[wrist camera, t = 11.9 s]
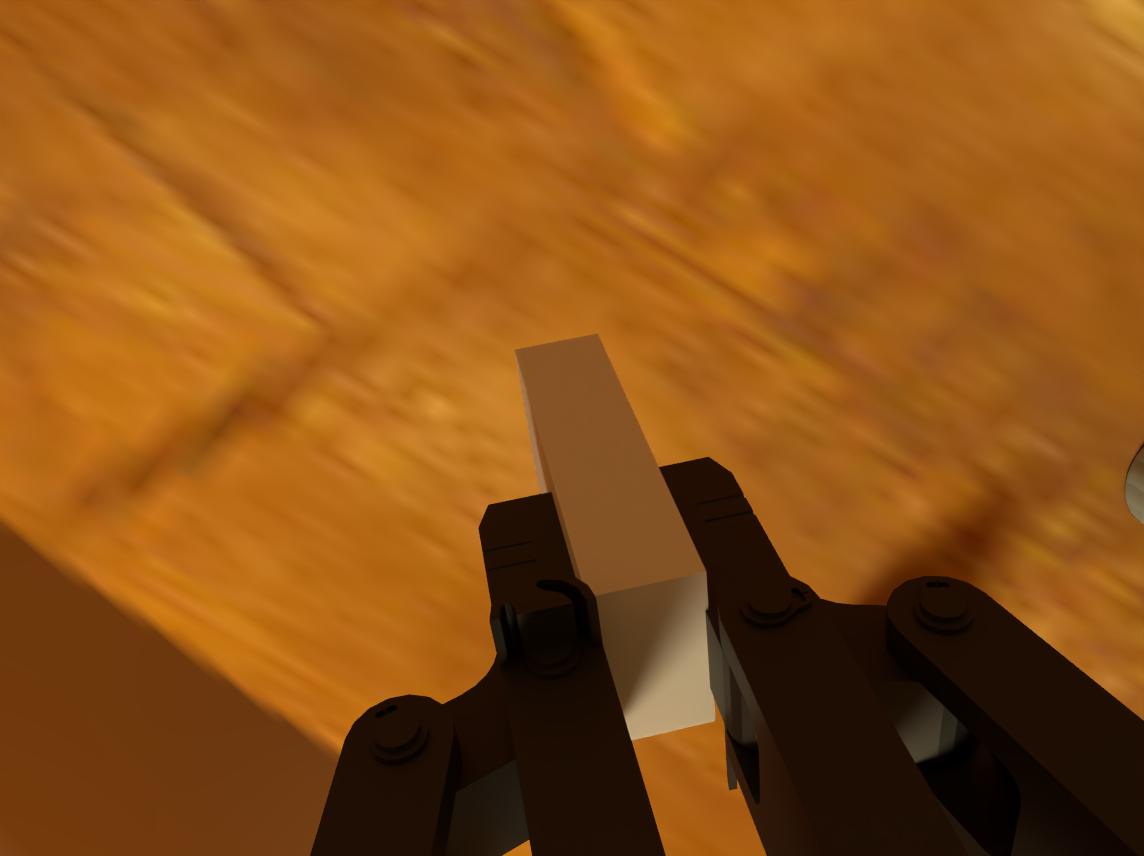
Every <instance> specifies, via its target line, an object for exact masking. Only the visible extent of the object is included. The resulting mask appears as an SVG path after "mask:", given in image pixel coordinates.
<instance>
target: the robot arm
mask: <svg viewBox="0 0 1144 856" xmlns="http://www.w3.org/2000/svg"><path fill="white" fill-rule="evenodd" d="M515 354H516V360H517V366H518V372H519V378H520V383H521V389H522V395H523V401H524V407H525V412H526V418H527V424H528V430H529V435H530V441H531V447H532V453H533V459H534V464H535V470H536V475H537V479H538V483H539V487H540V490H541V494H538V495H533V496H529V497H524V498H519V499H514V500H509V501H505V502H500V503H495V504H490V505H488V507H487V509H486V512H485V514H484V516H483V519H482V521H481V523H480V526H479V534H480V540H481V546H482V551H483V557H484V563H485V569H486V575H487V581H488V587H489V593H490V599H491V605H492V606H491V613H490V625H491V630H492V634H493V638H494V643H495V647H496V652H497V655H496V658H495V661H494V664H493V666H492V667H491V669H490V670H489V672H488V673H487V675H486V676H485V677H484V678H483V679H482V680H481V681H480V682H479V683H478V684H477V685H476V686H474V687H473V688H471V689H470V690H468V691H466V692H465V693H463V694H462V695H460V696H458V697H456V698H454V699H452V700H450V701H448V702H446V703H444V704H443V705H442V704H441V703H439V702H437V701H435V700H434V699H432V698H430V697H426V696H418V695H410V694H409V695H404V696H399V697H394V698H389V699H387V700H385V701H383V702H381V703H379V704H377V705H375V706H373V707H371V708H369V709H368V710H367V711H366V712H365V713H364V714H363V715H362V716H361V717H360V718H358V719H357V720H356V721H355V722H354V724H353V725H352V727H351V729H350V731H349V733H348V735H347V737H346V739H345V741H344V744H343V748H342V751H341V754H340V758H339V761H338V764H337V768H336V771H335V774H334V778H333V781H332V785H331V788H330V791H329V794H328V798H327V801H326V805H325V808H324V812H323V814H322V818H321V821H320V824H319V828H318V832H317V835H316V838H315V841H314V844H313V848H312V851H311V855H310V856H502V855H504V854H506V853H507V852H509V851H511V850H512V849H514V848H516V847H517V846H519V845H521V844H522V843H524V842H526V841H527V840H530V846H531V851H532V856H666V855H665V852H664V849H663V845H662V842H661V838H660V835H659V832H658V828H657V825H656V822H655V818H654V815H653V812H652V808H651V805H650V801H649V798H648V795H647V791H646V788H645V785H644V781H643V778H642V775H641V771H640V768H639V765H638V761H637V758H636V754H635V751H634V748H633V744H632V741H631V740H636V739H640V738H644V737H649V736H653V735H657V734H661V733H666V732H670V731H674V730H679V729H683V728H687V727H692V726H696V725H700V724H705V723H709V722H713V721H715V707H714V699H715V701H716V704H717V706H718V709H719V711H720V714H721V716H722V719H723V721H724V724H725V743H726V762H727V778H728V785H729V790H733V789H737V780H738V783H739V785H740V788H741V790H742V793H743V795H744V798H745V801H746V803H747V806H748V808H749V811H750V814H751V816H752V819H753V821H754V824H755V826H756V829H757V832H758V834H759V837H760V839H761V842H762V844H763V847H764V850H765V852H766V855H767V856H1144V721H1143V720H1142V719H1141V718H1140V717H1138V716H1137V715H1136V714H1135V713H1133V712H1132V711H1131V710H1130V709H1128V708H1127V707H1126V706H1125V705H1124V704H1122V703H1121V702H1120V701H1119V700H1117V699H1116V698H1115V697H1114V696H1112V695H1111V694H1110V693H1109V692H1107V691H1106V690H1105V689H1104V688H1102V687H1101V686H1100V685H1099V684H1097V683H1096V682H1095V681H1094V680H1093V679H1091V678H1090V677H1089V676H1088V675H1086V674H1085V673H1084V672H1083V671H1081V670H1080V669H1079V668H1078V667H1076V666H1075V665H1074V664H1073V663H1071V662H1070V661H1069V660H1068V659H1066V658H1065V657H1064V656H1063V655H1061V654H1060V653H1059V652H1058V651H1057V650H1055V649H1054V648H1053V647H1052V646H1050V645H1049V644H1048V643H1047V642H1045V641H1044V640H1043V639H1042V638H1040V637H1039V636H1038V635H1037V634H1035V633H1034V632H1033V631H1032V630H1030V629H1029V628H1028V627H1027V626H1026V625H1024V624H1023V623H1022V622H1021V621H1019V620H1018V619H1017V618H1016V617H1014V616H1013V615H1012V614H1011V613H1009V612H1008V611H1007V610H1006V609H1004V608H1003V607H1002V606H1001V605H999V604H998V603H997V602H996V601H995V600H993V599H992V598H991V597H990V596H988V595H987V594H986V593H985V592H983V591H981V590H979V589H978V588H976V587H974V586H973V585H971V584H969V583H967V582H964V581H960V580H957V579H953V578H950V577H941V576H924V577H920V578H916V579H912V580H908V581H906V582H904V583H903V584H902V585H900V586H899V587H897V588H896V589H894V590H893V592H892V594H891V596H890V598H889V600H888V602H887V606H882V605H851V604H842V603H835V602H831V601H828V600H824V599H820V598H819V596H818V595H817V594H816V593H815V592H814V591H813V590H812V589H811V588H810V587H809V586H808V585H807V584H805V583H803V582H801V581H799V580H797V579H795V578H793V577H791V576H790V575H789V574H788V572H787V570H786V568H785V567H784V565H783V563H782V561H781V559H780V558H779V556H778V554H777V552H776V551H775V549H774V547H773V545H772V543H771V542H770V540H769V538H768V536H767V535H766V533H765V531H764V529H763V527H762V526H761V524H760V522H759V520H758V519H757V517H756V515H754V514H753V510H752V508H751V506H750V504H749V503H748V501H747V499H746V498H744V495H743V492H742V490H741V488H740V487H739V485H738V483H737V481H736V480H735V478H734V476H733V474H732V473H731V472H730V471H728V470H727V469H725V468H724V467H723V466H721V465H720V464H718V463H717V462H715V461H714V460H712V459H711V458H709V457H706V458H701V459H696V460H691V461H686V462H682V463H677V464H672V465H667V466H662V467H658V465H657V463H656V460H655V458H654V456H653V454H652V452H651V449H650V447H649V445H648V443H647V441H646V439H645V436H644V434H643V432H642V430H641V428H640V425H639V423H638V421H637V419H636V417H635V414H634V412H633V410H632V408H631V406H630V404H629V401H628V399H627V397H626V395H625V393H624V390H623V388H622V386H621V384H620V382H619V379H618V377H617V375H616V373H615V371H614V369H613V366H612V364H611V362H610V360H609V358H608V355H607V353H606V351H605V349H604V347H603V344H602V342H601V340H600V338H599V336H598V334H594V335H588V336H583V337H578V338H573V339H568V340H563V341H558V342H552V343H547V344H542V345H537V346H532V347H527V348H522V349H516V350H515Z"/></svg>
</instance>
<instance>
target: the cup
mask: <svg viewBox="0 0 1144 856" xmlns="http://www.w3.org/2000/svg"><path fill="white" fill-rule="evenodd" d="M1125 497H1126V501H1127V504H1128V507H1129V509H1130V511H1131V513H1132V514H1133V515H1134V516H1135V517H1136V518H1137V519H1138V520H1140V521H1141V522H1142V523H1143V524H1144V447H1143V448H1142V449H1141V450H1140V452H1139V453H1138V454H1137V456H1136V457H1135V459H1134V461H1133V462H1132V464H1131V466H1130V469H1129V471H1128V474H1127V479H1126V484H1125Z"/></svg>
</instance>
